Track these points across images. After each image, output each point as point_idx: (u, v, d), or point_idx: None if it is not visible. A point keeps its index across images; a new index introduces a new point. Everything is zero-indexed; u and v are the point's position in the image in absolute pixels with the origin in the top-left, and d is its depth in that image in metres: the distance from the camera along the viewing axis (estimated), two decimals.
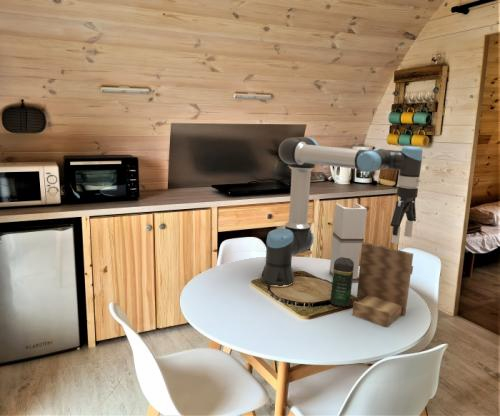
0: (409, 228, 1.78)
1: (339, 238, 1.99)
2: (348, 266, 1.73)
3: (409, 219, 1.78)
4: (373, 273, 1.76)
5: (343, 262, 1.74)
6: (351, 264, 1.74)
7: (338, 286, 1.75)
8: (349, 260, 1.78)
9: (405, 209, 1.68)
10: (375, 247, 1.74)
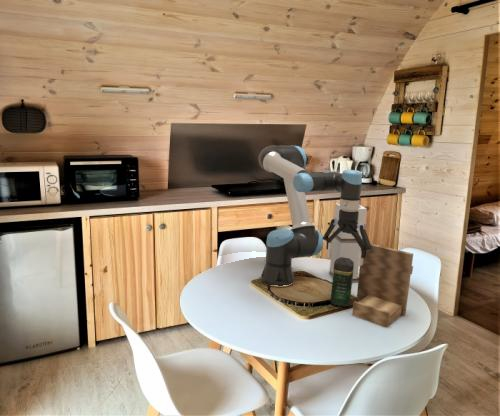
0: None
1: (339, 238, 1.99)
2: (348, 266, 1.73)
3: None
4: (373, 273, 1.76)
5: (343, 262, 1.74)
6: (351, 264, 1.74)
7: (338, 286, 1.75)
8: (349, 260, 1.78)
9: None
10: (375, 247, 1.74)
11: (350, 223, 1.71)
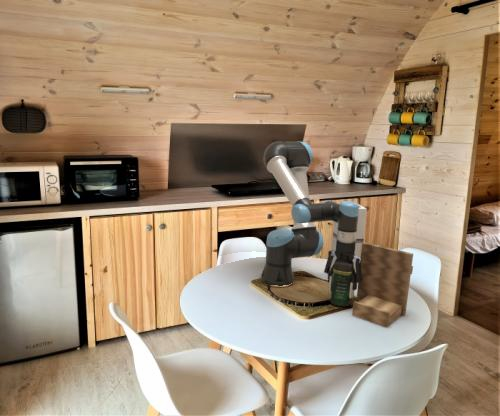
0: None
1: None
2: (348, 266, 1.73)
3: None
4: (373, 273, 1.76)
5: (343, 262, 1.74)
6: (351, 264, 1.74)
7: (338, 286, 1.75)
8: None
9: (335, 260, 1.78)
10: (375, 247, 1.74)
11: (347, 253, 1.74)
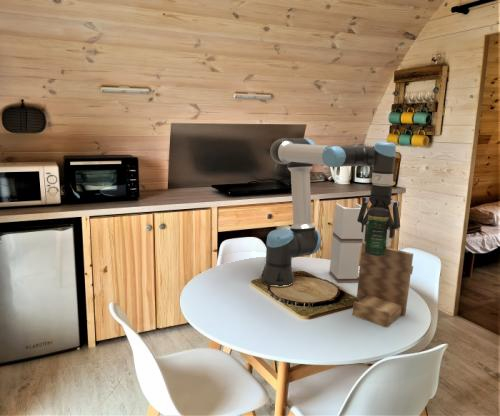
0: None
1: (339, 238, 1.99)
2: (385, 211, 1.60)
3: None
4: (373, 273, 1.76)
5: (379, 207, 1.61)
6: None
7: (374, 234, 1.62)
8: None
9: (370, 206, 1.65)
10: None
11: (384, 198, 1.61)
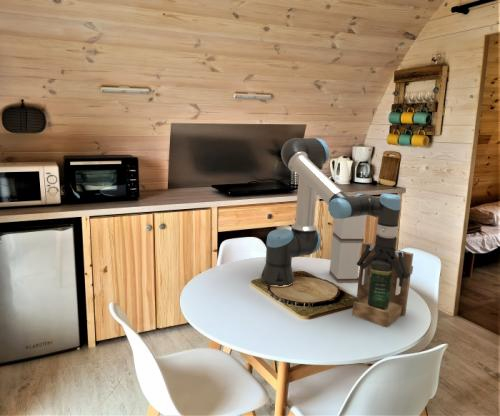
0: None
1: (339, 238, 1.99)
2: (387, 265, 1.62)
3: None
4: None
5: (381, 261, 1.64)
6: (390, 263, 1.64)
7: (377, 287, 1.65)
8: None
9: (373, 255, 1.67)
10: None
11: (388, 250, 1.63)
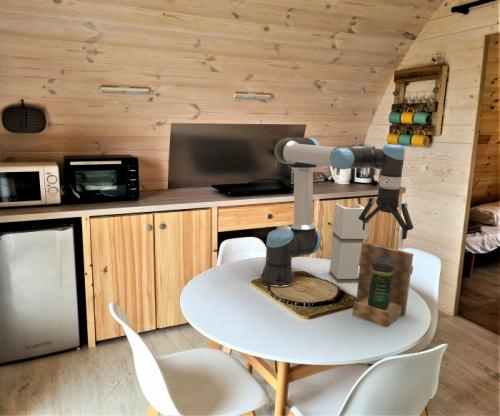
0: None
1: (339, 238, 1.99)
2: (388, 266, 1.62)
3: None
4: None
5: (383, 262, 1.63)
6: (391, 264, 1.64)
7: (377, 288, 1.65)
8: (388, 260, 1.67)
9: (376, 208, 1.64)
10: (375, 247, 1.74)
11: (390, 202, 1.60)
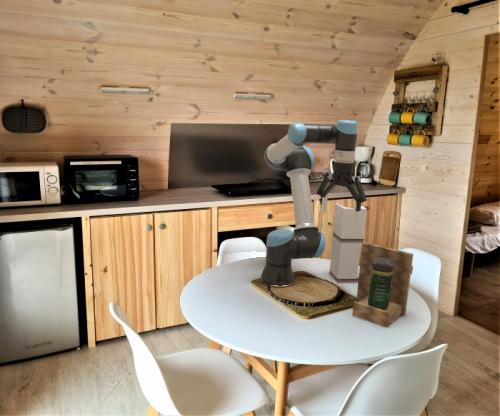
0: None
1: (339, 238, 1.99)
2: (388, 266, 1.62)
3: None
4: None
5: (383, 262, 1.63)
6: (391, 264, 1.64)
7: (377, 288, 1.65)
8: (388, 260, 1.67)
9: (331, 182, 1.69)
10: (375, 247, 1.74)
11: (345, 175, 1.66)
